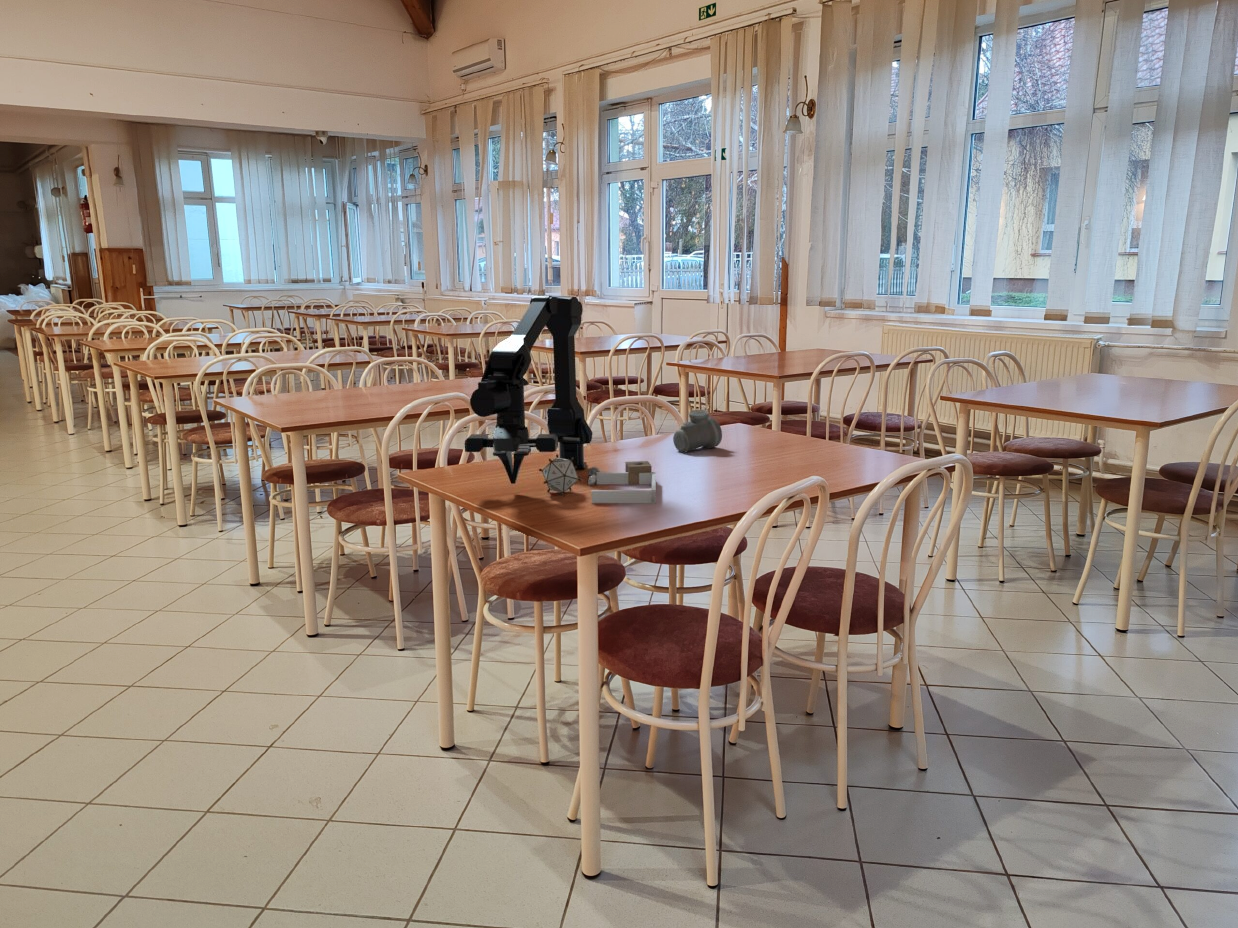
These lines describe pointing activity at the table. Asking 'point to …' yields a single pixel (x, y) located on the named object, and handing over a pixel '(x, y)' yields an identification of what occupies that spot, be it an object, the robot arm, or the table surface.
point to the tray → (624, 495)
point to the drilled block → (637, 470)
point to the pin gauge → (592, 475)
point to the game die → (560, 474)
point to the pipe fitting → (698, 432)
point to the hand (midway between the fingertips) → (513, 483)
